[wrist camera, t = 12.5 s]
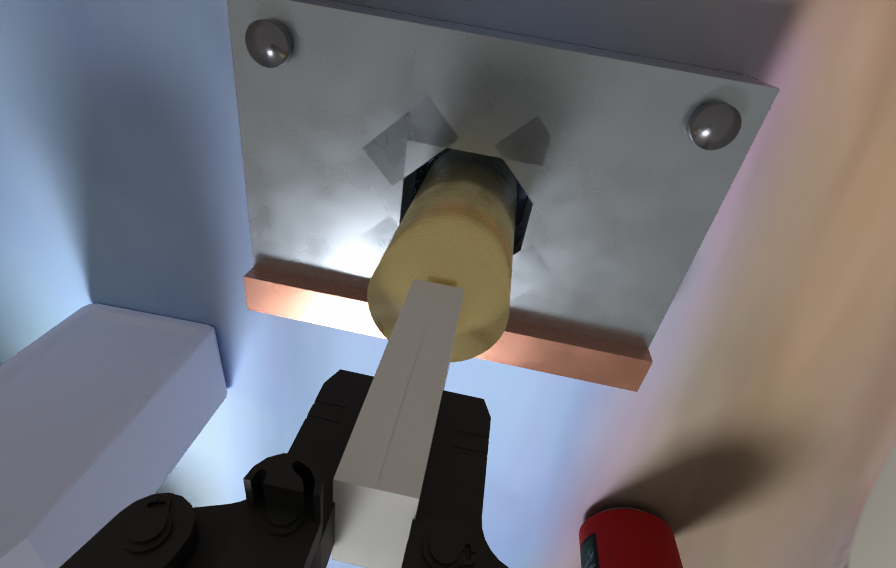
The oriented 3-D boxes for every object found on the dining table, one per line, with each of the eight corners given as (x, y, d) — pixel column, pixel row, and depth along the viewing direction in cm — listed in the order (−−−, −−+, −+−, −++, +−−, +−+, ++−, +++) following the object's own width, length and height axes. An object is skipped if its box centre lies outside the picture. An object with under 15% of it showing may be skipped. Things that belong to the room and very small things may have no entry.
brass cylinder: (421, 222, 24) (364, 346, 16) (431, 136, 22) (370, 230, 13) (506, 239, 24) (493, 374, 16) (526, 154, 22) (524, 261, 13)
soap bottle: (117, 376, 35) (-387, 852, 16) (88, 300, 31) (-626, 808, 12) (232, 399, 34) (-144, 922, 15) (218, 325, 30) (-311, 899, 11)
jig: (281, 269, 27) (247, 309, 24) (265, -12, 20) (210, -11, 16) (623, 340, 26) (637, 391, 23) (746, 75, 19) (793, 94, 15)
